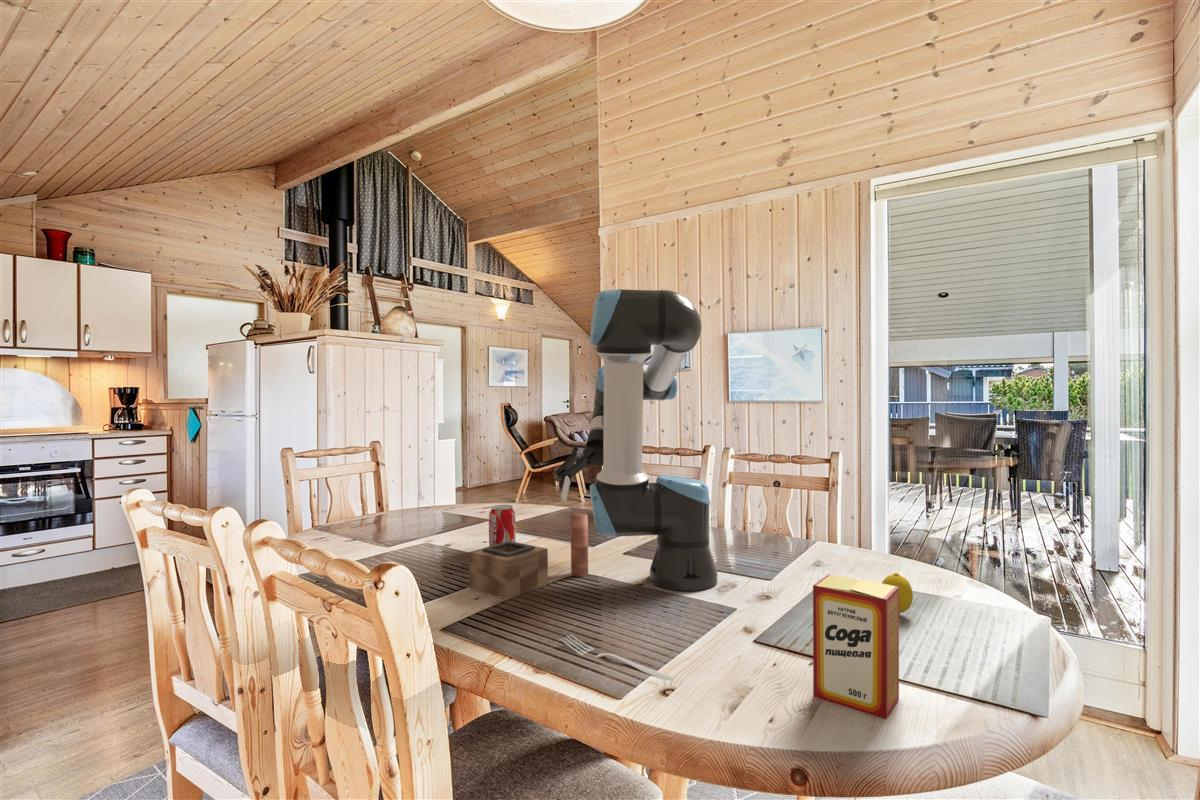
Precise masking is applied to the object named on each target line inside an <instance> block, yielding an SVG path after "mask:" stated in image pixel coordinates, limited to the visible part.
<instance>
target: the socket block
mask: <svg viewBox="0 0 1200 800" xmlns="http://www.w3.org/2000/svg"><path fill="white" fill-rule="evenodd" d="M548 551H549V549H548V548H546V547H541V546H537V545H531V544H526V543H522V542H517V541H515V542H512V541H507V542H504V543H500V544H497V545H493V546H486V547H482V548H480V549H475V550H471V551H470V552H469V589H470V588H471V590H473V589H475V591H477V590H479V591H478V592H481V591H482V592H481V593H484V592H485V594H488V593H489V594H488V595H491V594H492V596H495V595H496V596H495V597H498V596H500V597H499V598H502V597H503V599H505V598H506V600H512V599H514V598H516V596H517V597H519V596H522V595H525V594H527V593H530V592H533V591H534V590H538V589H539V588H542V586H543V587H545V586H548V585H547V584H549V563H548V559H549V557H548V556H549V555H548V554H549V553H548ZM537 588H538V589H537ZM513 597H514V598H513ZM511 598H512V599H511Z"/></svg>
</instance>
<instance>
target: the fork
mask: <svg viewBox="0 0 1200 800" xmlns="http://www.w3.org/2000/svg"><path fill="white" fill-rule="evenodd" d="M571 637H572V638H571ZM560 641H561V642H563V643H564V644H565V645H566V646H567V647H569V649H571V650H573V651H574V652H575V653H577V654H579V655H582V656H583V655H584V654H587V653H588V652H591V651H593V650H595V648H593V647H591V646H590V645H588V644H586V643H584V642H583V641H582V640H580V639H578V638H577V637H575V636H574V635H572V634H571V633H570V634H569V635H566V637H565V636H564V637H563V638H560ZM602 657H611V658H614V659H616V660H618V661H620V662H622V663H625V664H626V665H629V666H630V667H633V668H634V669H636V670H638V671H641V672H642V673H644V674H646V675H648V676H649V675H650V676H652V677H655V678H658V679H661V680H664V681H675V678H674V677H673V676H671V675H669V674H666V673H662V672H660V671H658V670H654V669H651V668H649V667H647V666H644V665H641V664H638V663H635V662H633V661H631V660H628V659H626V658H623V657H622V656H619V655H617V654H614V653H609V652H608V653H605V652H604V653H603V652H600V653H598V654H597V655H596V656H595V657H594V658H596V659H597V658H602Z"/></svg>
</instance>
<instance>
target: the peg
mask: <svg viewBox="0 0 1200 800" xmlns="http://www.w3.org/2000/svg"><path fill="white" fill-rule="evenodd" d="M588 518H589V514H587V513H586V512H585V513H584V512H576V513H575V512H574V513H571V514H570V575H571V576H572V577H574V576H576V577H577V578H581V577H580V576H584V577H587V576H588V575H589V526H588V525H589V519H588ZM586 575H587V576H586Z"/></svg>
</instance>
